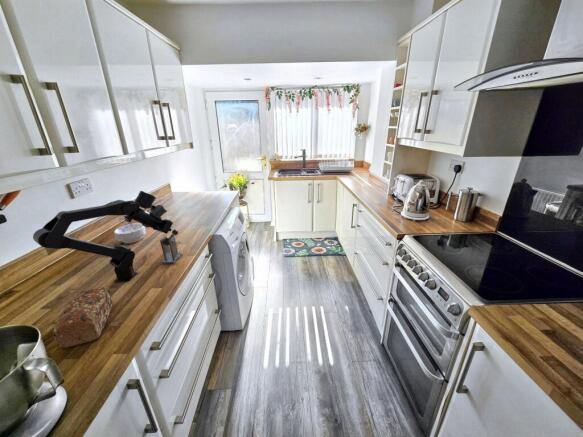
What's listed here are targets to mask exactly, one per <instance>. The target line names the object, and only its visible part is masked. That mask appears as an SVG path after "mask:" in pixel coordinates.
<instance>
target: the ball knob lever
mask: <svg viewBox="0 0 583 437" xmlns="http://www.w3.org/2000/svg"><path fill="white" fill-rule="evenodd" d="M177 235H179V230H178V229H175V228H174V229H172V230H171V235H170V236H169V237H167V238H166V239H165V241H164V243H165V245H169V242H168V240H169V239H170V238H171V237H173V236H174V237H175V236H177Z"/></svg>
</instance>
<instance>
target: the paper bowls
mask: <svg viewBox="0 0 583 437" xmlns="http://www.w3.org/2000/svg"><path fill="white" fill-rule="evenodd" d="M113 233H114V237H115V240H116V241H117V242H121V243H123V244H134V243H137V242H139V241H141V240H142V239H143V237H144V236H145V235H146V234H147V230H146V227H145V226H142V224H141V223H140V222H137V223H130V224H129V223H128V224H125V225H122V226H120V227H117V228H116V229H114V231H113Z"/></svg>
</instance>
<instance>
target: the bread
mask: <svg viewBox="0 0 583 437" xmlns="http://www.w3.org/2000/svg"><path fill="white" fill-rule="evenodd" d="M113 303H114V302H113V296H112V293H111V290H110V289H109V287H106V286H101V287H94V288H89V289H86V290H82V291H80V292H79V293H78V294H77V295H75V296H74V297H72V298H71V299H70V300H69V301H68V303H66V305H65V306H64V309H63V310H62V311H61V313H60V314H59V315H58V319H57V321H56V323H55V325H54V326H53V332H52V334H53V337H54V340H55V342H57V343H58V346H59V345H60V347H61V348H71V347H74V346H79V345H82V344H86V343H90V342H93V341H96V340H97V339H98V338H100V336H101V334H102V331H103V329H104V327H105V325H106V323H107V320H108V318H109V315H110V312H111V310H112V306H113Z"/></svg>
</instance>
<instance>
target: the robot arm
mask: <svg viewBox="0 0 583 437" xmlns="http://www.w3.org/2000/svg"><path fill="white" fill-rule="evenodd" d="M156 199H157V197H156V196H155V195H153V194H151V193H148V192H146V191H143V190H140V191H139V192H138V195H137V196H136V198H135V200H132V199H131V200H123V199H116V200H114V201H113V200H112V201H110V202H108V203H106V204H103V205H97V206H91V207H85V208H84V207H83V208H78V209H73V210H62V211H59V212H58V213H57V214H56V215H55V216H54V217H53V218H51V220H48V222H46V223H45V225H43V227H42V228H39V229H37V230H36V231H34V233H33V234H32V240H33V241H34V242H35V243H36V244H38V245H39V246H40V247H42V248H44V249H54V250H55V249H57V250H61V249H70V250H75V251H80V252H85V253H90V254H93V255H100V256H104V257H108V258H110V260H109V264H110V265H111V266H113V267H114V269H113V271H114V273H115V275H116V278H115V279H114V282H116V283H117V282H119V283H120V282H130V281H131V280H132V279H133V278H135V277H136V275H138V271H135V270H134V267H133V266H134V259H135V257H136V253H135V251H134V250H132V248H131V247H128V246H126V245H124V244H123V245H120V244H118V243H114V245H112V246H111V245H110V246H109V245H105V244H100V243H97V242H92V241H87V240H83V239H80V238H75V237H71V236H68V235H66V233H67V231H68V229H69V227H70V225H72V223H76V222H80V221H86V220H91V219H96V218H97V219H98V218H101V217H102V218H103V217H106V216H123V219H124V221H125V222H127V223H128V224H129V223H130V224H131V223H132V221H135V222H137V223H140V224H142V226H144V227H145V228H148V229H149V228H150V229H152V230H154V231H157V232H161V233H163V234H165V235H167V234H168V233H169V232H172V231H173V229H172V226H173V224H174V221H172V220H170V219H167V218H164V219H163V218H162V216H164V214H166V213H167V212H168V209H167V208H166V207H165V206H164V205H161V204H156V205H154V202H155V201H156ZM147 209H148V210H149V209H150V211H146V210H147Z"/></svg>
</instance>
